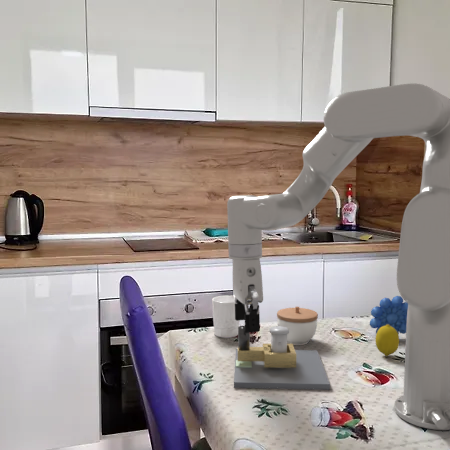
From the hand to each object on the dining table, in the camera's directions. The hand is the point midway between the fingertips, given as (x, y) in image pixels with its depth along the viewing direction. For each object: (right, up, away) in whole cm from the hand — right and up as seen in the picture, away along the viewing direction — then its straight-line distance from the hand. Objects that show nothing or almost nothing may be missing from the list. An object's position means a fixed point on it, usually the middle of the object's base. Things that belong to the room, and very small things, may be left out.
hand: (247, 325), depth 117 cm
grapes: (+40, -8, +23) cm, 47 cm away
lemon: (+35, -10, +10) cm, 37 cm away
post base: (+7, -10, +1) cm, 13 cm away
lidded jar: (+14, -8, +21) cm, 26 cm away
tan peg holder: (+4, -8, +1) cm, 9 cm away
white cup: (-5, -8, +26) cm, 28 cm away
